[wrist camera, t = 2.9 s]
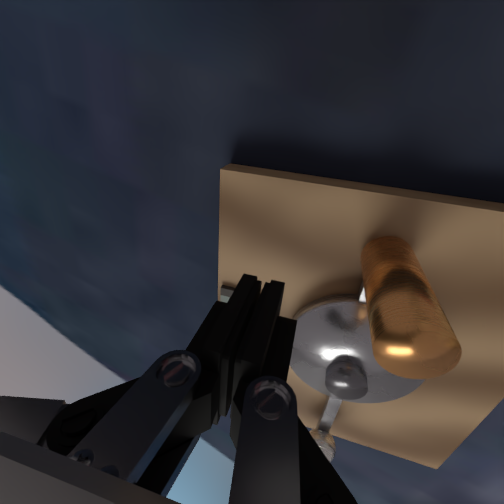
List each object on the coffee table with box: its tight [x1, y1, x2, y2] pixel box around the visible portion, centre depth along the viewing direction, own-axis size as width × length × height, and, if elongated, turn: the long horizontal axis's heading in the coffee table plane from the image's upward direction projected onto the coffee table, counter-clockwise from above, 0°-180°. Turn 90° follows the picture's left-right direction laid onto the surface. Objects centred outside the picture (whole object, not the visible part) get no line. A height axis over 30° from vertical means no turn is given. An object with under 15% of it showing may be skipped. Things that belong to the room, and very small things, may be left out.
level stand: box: [218, 164, 504, 469], centre depth 18 cm, size 20×18×2 cm
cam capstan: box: [290, 236, 462, 462], centre depth 15 cm, size 18×8×6 cm, turn 176°
